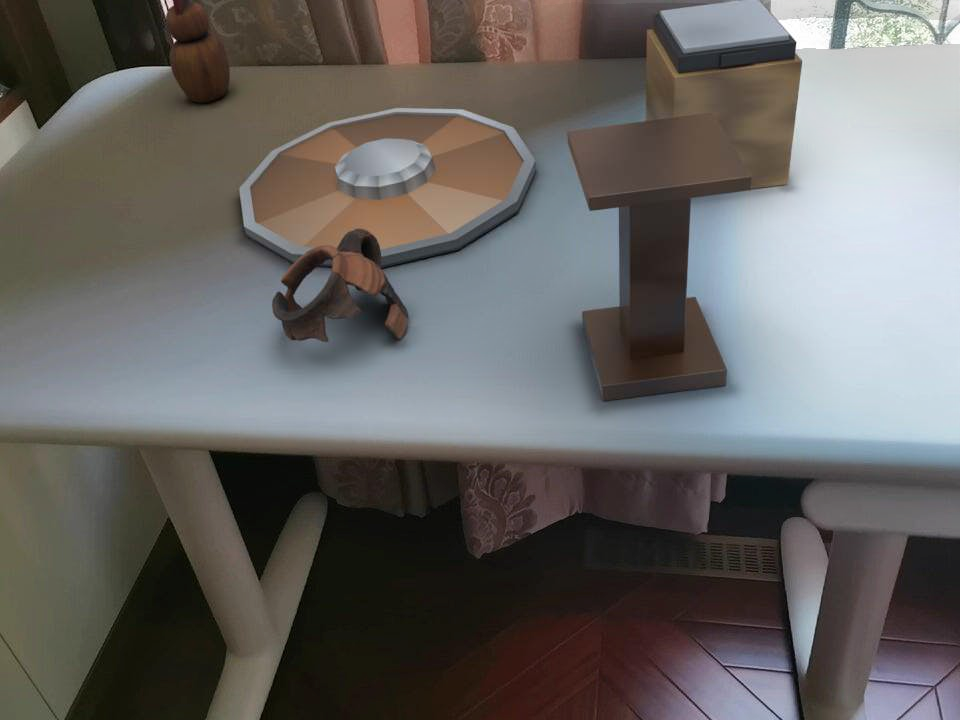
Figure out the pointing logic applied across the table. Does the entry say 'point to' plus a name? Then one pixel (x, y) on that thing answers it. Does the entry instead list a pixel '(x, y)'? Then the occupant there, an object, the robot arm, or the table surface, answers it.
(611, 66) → the table surface
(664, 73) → the crate
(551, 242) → the table surface
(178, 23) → the wooden figurine
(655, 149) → the stand
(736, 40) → the scale
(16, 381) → the table surface
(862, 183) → the table surface
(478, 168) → the shield
